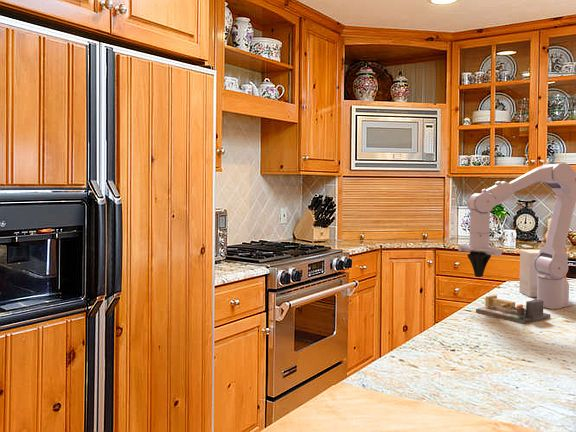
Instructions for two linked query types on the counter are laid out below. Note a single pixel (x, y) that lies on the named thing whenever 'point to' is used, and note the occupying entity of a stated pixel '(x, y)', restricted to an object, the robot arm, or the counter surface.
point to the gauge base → (530, 313)
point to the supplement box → (528, 273)
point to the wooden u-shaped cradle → (498, 302)
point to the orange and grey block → (520, 310)
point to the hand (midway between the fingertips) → (478, 276)
